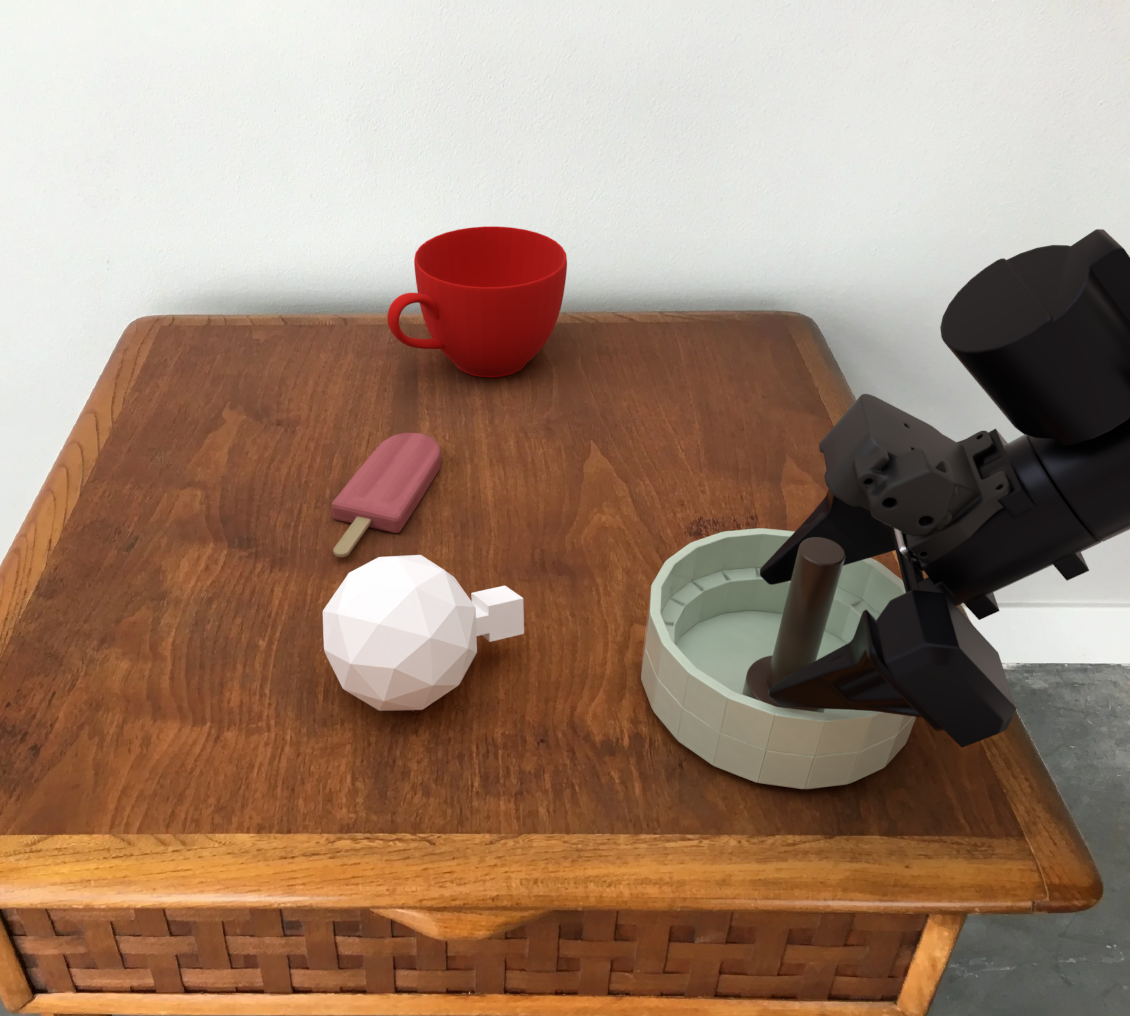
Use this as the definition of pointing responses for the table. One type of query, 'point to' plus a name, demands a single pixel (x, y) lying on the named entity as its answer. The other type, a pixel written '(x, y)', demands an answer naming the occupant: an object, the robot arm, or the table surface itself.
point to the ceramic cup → (486, 297)
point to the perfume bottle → (410, 630)
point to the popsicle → (386, 487)
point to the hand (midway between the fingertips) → (768, 634)
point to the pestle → (800, 618)
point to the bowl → (739, 638)
